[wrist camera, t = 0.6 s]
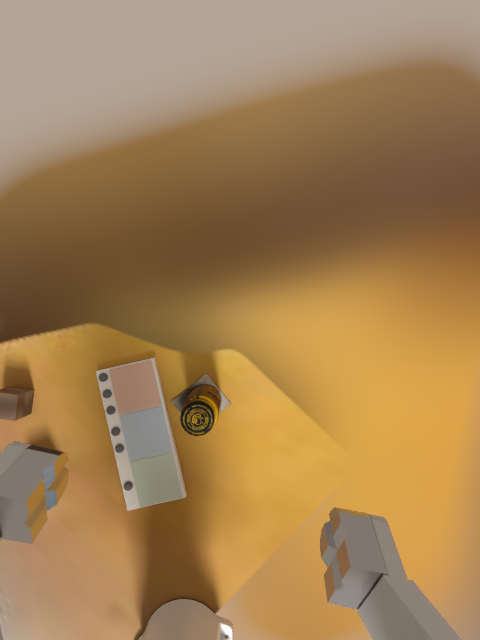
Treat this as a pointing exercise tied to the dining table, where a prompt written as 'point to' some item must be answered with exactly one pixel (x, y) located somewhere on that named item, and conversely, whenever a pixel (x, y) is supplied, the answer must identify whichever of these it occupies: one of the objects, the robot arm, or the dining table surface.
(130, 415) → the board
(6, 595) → the dining table surface
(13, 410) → the walnut block
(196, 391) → the condiment
